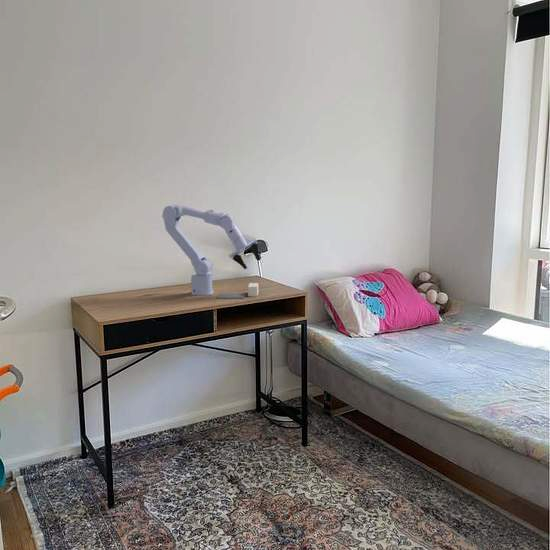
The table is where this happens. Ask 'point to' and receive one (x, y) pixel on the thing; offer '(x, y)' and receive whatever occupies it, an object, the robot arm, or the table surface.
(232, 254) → the robot arm
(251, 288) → the white rectangular block
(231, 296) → the mat
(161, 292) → the table surface
